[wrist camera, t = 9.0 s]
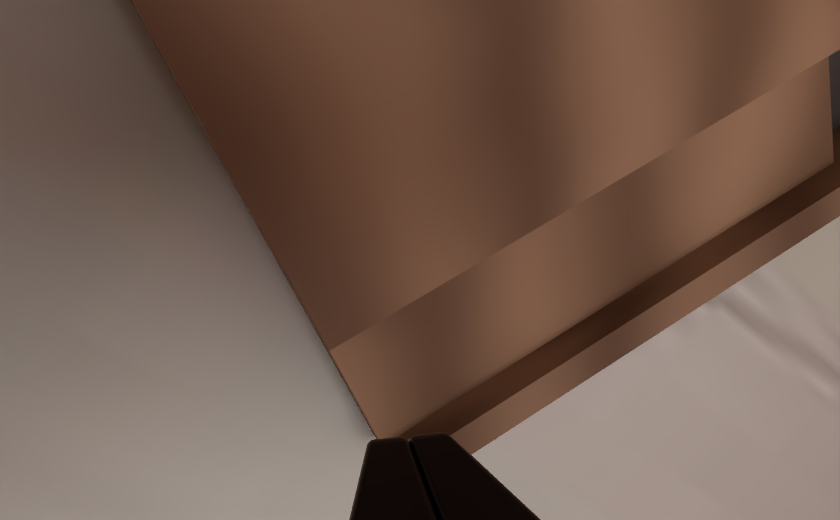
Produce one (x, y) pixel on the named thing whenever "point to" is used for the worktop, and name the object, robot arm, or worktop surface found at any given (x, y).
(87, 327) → the worktop surface
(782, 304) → the worktop surface
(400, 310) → the brown wooden tray
